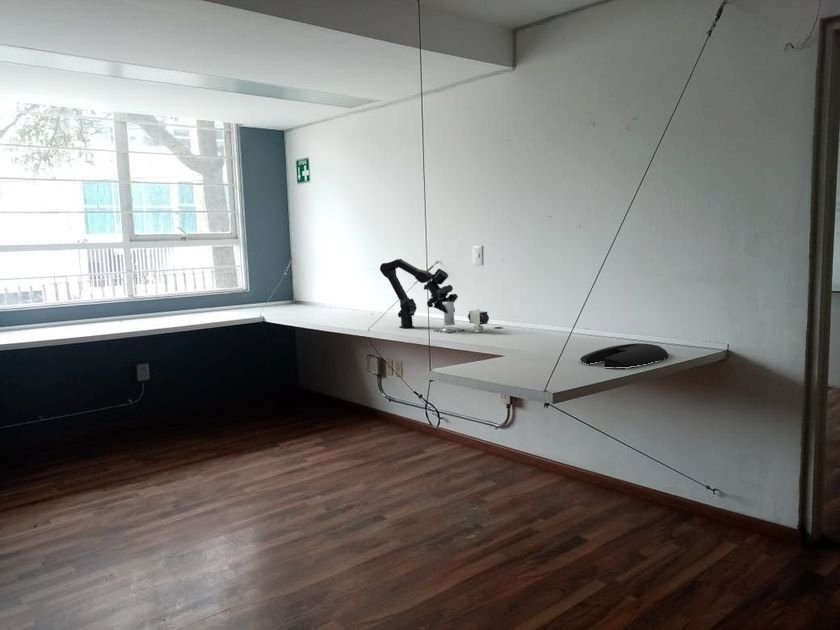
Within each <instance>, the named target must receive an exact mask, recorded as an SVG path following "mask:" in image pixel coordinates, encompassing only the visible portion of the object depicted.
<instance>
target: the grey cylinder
mask: <svg viewBox="0 0 840 630" xmlns="http://www.w3.org/2000/svg"><path fill="white" fill-rule="evenodd" d="M454 304H455V302H453V301H447V302H443V305H444V306H445V308H446V310H447V312H448V313H444V312H443V316H444V317H443V319H444V320H443V321H444V322H443V325H444V326H454V325H456V322H455V312H454V308H455V305H454Z"/></svg>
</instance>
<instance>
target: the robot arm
mask: <svg viewBox="0 0 840 630" xmlns="http://www.w3.org/2000/svg"><path fill="white" fill-rule="evenodd" d="M398 268H399V269H401V270H403V271H404V272H406V273H408V274H410V275H412V276H413V277H415V280H417V282H419V283H420V284H424V285H423V290H425V291H429V292H430V294H431V295H430V298H429V299H428V301H427V302H426V305H427V307H428V308H435V309H437V310H439V311H441V312H442V313H443V314H444V313H448V312H447V310H446V308H445V306H444V302H447V301H453V302H454V303H455V301H457V299H458V298H459V296H458V294H456V293H451V292H452V291H453V290H454V288H453V285H451V284H448V285H445V286H443V287H440V285H443V283H445V281H446V280H447V279H448V277H449V274H448V272H446V271H444V270H443V269H441V268H438V269H437V270H436V271H435V272H434V273H431V272H430V271H428V270H424V269H419V268H417V267H415V265H412V264H410V263H408V261H405V260H403V259H402V258H398V259H395V260H392V261H389V262H384V263H381V264H380V266H379V270H380V272H381V274H382V275H383V276H384V277H385V278H387V280H388V281H389V283H390V285H391V287H392V289H393V291H394V292H395V294H396V296H397V298H398V300H399V305H400V306H399V307H400V310H399V311H398V313H397V316H398V318H400V326H399V328H401V329H411V328H415V326H414V324H413V317H414V316H415V313H416V311H417V303H416V302H415V299H414V298H409V297H408V295H407V292H406V291H405V290H404V287H403V285H402V284H401V282H400V280H399V278H398V275H397V269H398ZM425 283H426V284H425ZM450 293H451V294H450ZM455 312H456V309H455V307H454V313H455Z"/></svg>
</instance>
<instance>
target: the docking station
mask: <svg viewBox="0 0 840 630" xmlns="http://www.w3.org/2000/svg"><path fill="white" fill-rule="evenodd" d="M667 357H668V358H669V353H668V351H667V350H666V349H665V348H663V347H661V346H660V345H657V344H656V345H655V344H653V343H642V342H641V343H640V342H639V343H638V342H637V343H626V344H619V345H613V346H609V347H608V346H607V347H605V348H601V349H598V350H594V351H592V352H589V353H586V354H584V355H582V356H581V357H580V358H579V361H580V360H581V361H582V362H584V363H586V364H590V363H595V362H600V361H604V362H603V364H604V366H603V367H630V366H637V365H643V364H648V363H651V362H655V361H659V360H662V359H664V358H667ZM668 358H667V359H668ZM662 361H663V360H662Z"/></svg>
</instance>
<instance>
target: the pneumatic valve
mask: <svg viewBox="0 0 840 630" xmlns="http://www.w3.org/2000/svg"><path fill="white" fill-rule="evenodd" d="M467 318H468V321H469V324H474V326H473V331H474V333H476V332H480V333H484V325H488V322H489V320H490V316H489V315H488V311H485V310H480V309H479V308H477V310H476V309H475V310H469V312H468V316H467Z"/></svg>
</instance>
